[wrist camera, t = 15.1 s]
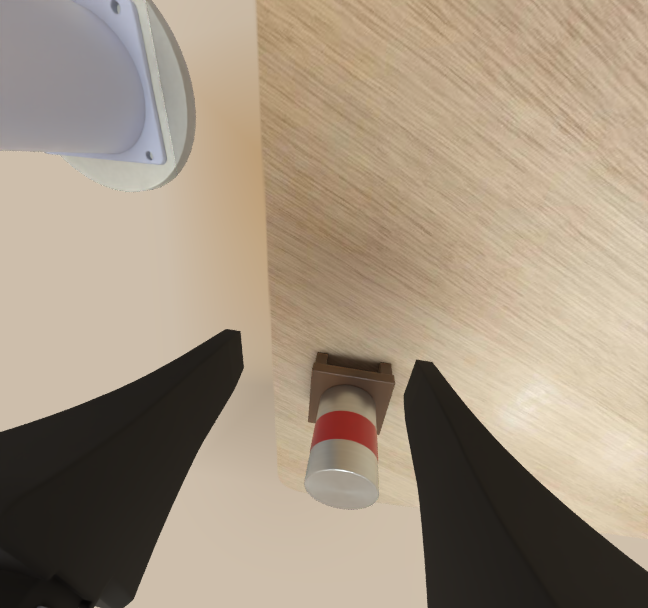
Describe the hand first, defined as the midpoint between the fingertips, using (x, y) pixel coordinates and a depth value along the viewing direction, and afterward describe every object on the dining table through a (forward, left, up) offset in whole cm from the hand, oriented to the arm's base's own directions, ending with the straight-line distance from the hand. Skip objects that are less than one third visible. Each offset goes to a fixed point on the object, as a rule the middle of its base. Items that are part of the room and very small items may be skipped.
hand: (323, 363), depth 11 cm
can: (+2, -12, -8) cm, 14 cm away
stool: (+2, -12, -10) cm, 16 cm away
